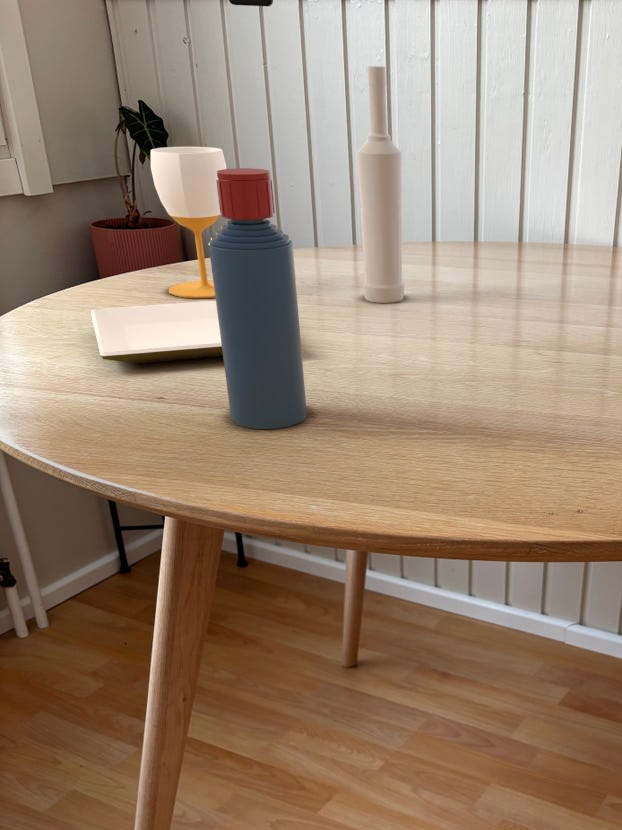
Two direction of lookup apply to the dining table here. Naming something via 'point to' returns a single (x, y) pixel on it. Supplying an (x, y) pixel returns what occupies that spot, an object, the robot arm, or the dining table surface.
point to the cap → (245, 194)
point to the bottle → (380, 200)
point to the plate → (158, 332)
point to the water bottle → (259, 323)
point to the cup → (190, 199)
